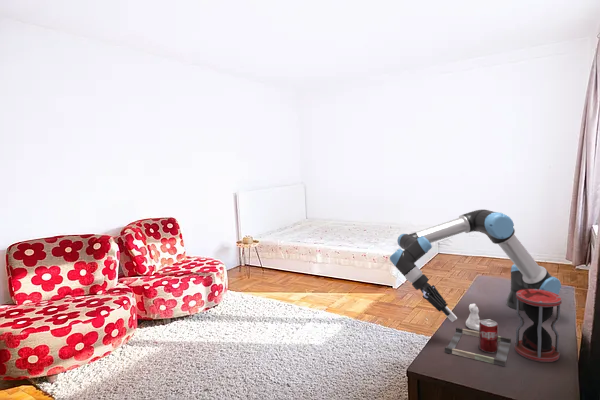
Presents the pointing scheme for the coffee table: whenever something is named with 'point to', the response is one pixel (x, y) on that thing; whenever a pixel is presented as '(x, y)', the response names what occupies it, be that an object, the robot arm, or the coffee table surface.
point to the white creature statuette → (473, 318)
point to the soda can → (488, 336)
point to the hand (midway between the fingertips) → (454, 319)
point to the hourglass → (537, 325)
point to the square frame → (499, 359)
